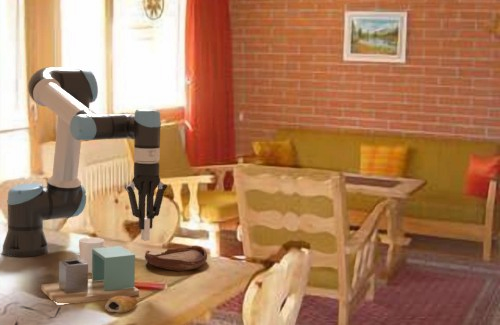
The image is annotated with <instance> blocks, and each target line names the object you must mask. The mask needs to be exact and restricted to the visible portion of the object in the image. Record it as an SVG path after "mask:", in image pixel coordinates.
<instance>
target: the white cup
mask: <svg viewBox="0 0 500 325" xmlns="http://www.w3.org/2000/svg"><path fill="white" fill-rule="evenodd" d="M104 247H105V239H103V237H102V238H101V237H97V236H95V237H91V236H90V237H84V238H80V239H79V240H78V248H79V250H78V252H79V259H82V260H83V261H85V262H86V263H87V264H88V274H92V249H94V248H104Z"/></svg>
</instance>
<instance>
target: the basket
mask: <svg viewBox="0 0 500 325" xmlns="http://www.w3.org/2000/svg"><path fill="white" fill-rule="evenodd" d="M150 252H151V251H150V250H146V251H145V254H144V259H145V260H146V261H147V262H148V263H149V264H150V265H152V266H154V267H158V268H162V269H165V270H169V271H176V272H181V271H183V272H184V271H190V270H193V269H194V270H195V269H197V268H199V267H201V266H202V265H205V263H206V261H207V259H208V253H207V250H206V248H205V247H203V246H201V245H192V246H183V247H176V248H175V247H174V248H168V249H166V250H165V251H164V252H161V253H158V254H152V253H150Z"/></svg>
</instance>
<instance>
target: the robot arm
mask: <svg viewBox="0 0 500 325" xmlns="http://www.w3.org/2000/svg"><path fill="white" fill-rule="evenodd" d="M98 87H99V86H98V82H97V79H96V77H95V75H94V73H93V72H92V71H91V70H90V69H87V68H82V67H53V66H47V67H44V68H39V69H38V70H37V71H35V72H34V73H33V75H31V77H30V79H29V81H28V84H27V89H28V93H29V96H30V98H31V99H32V100H33V101H34V102H35V103H36V104H38V105H39V106H40V107H45V108H47V109H49V110H50V111H51V112H53V113H54V114H55V115H56V116H57V121H56V122H57V124H56V134H55V145H54V146H55V147H54V153H53V154H54V155H53V157H54V158H53V165H52V166H53V168H52V175H51V176H50V177H49V178H48V179H47V184H46V186H43V184H42V183H41V182H40V183H39V182H32V183H30V182H29V183H21V184H17V185H15V186H12V187H11V188H10V189H9V190H8V192H7V201H6V204H7V232H6V236H5V238H4V241H3V244H2V254H4V255H5V256H9V257H15V258H25V257H26V258H27V257H28V258H29V257H36V256H37V257H38V256H42V255H45V254H47V253H48V252H49V245H48V244H49V243H48V240H47V238H46V235H45V231H44V221H49V220H59V219H71V218H75V217H78V216H79V215H81V214H82V213H83V212H84V209H85V208H86V203H87V195H86V192H87V191H86V189H85V186H83V185H82V181H80V179H79V177H78V176H79V174H78V173H79V165H80V155H81V147H82V146H81V145H82V141H84V142H88V141H97V140H98V141H99V140H102V141H103V140H121V139H123V140H124V139H126V140H128V139H129V140H133V141H134V147H133V160H134V163H133V178H132V180H131V183H129V184H126V185H124V189H125V191H126V192H127V195H128V199H129V204H130V209H131V213H132V216H133V217H135V218H138V228H139V230H140V231H141V232H140V236H141V237H140V238H141V239H140V240H142V241H145V242H146V241H150V238H151V237H150V233H151V232H150V230H151V229H153V220H154V219H155V217H157V216H159V215H160V212H161V208H162V202H163V199H164V195H165V194H164V193H165V192H166V190H167V188H168V184H167V183H164V182H162V181H161V178H160V163H159V161H160V159H161V158H160V156H161V155H160V153H161V146H160V145H161V125H162V122H161V112H160V111H159V110H158V109H150V108H149V109H148V108H147V109H146V108H144V109H143V108H140V109H136V110H135V111H134V114H133V113H129V112H120V113H101V114H100V113H98V114H97V113H95V112H94V111H93V110H91V109H90V104H91V103H94V102H95V101H96V99H97V98H98V94H99V91H98V90H99V88H98ZM156 189H157V191H156ZM135 190H137V195H138V202H137V197H136V192H135ZM155 191H156V194H155ZM154 197H155V198H154Z"/></svg>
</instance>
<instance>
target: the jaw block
mask: <svg viewBox="0 0 500 325" xmlns="http://www.w3.org/2000/svg"><path fill="white" fill-rule="evenodd" d="M58 264H59V265H58V272H59V274H58V283H59V288H60V289H61V290H62V291H63V292H64V293H65V294H71V293H79V292H87V291H88V279H89V273H88V264H87V263H86V262H85V261H83V260H82V259H80V258H76V259H65V260H64V259H63V260H58Z"/></svg>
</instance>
